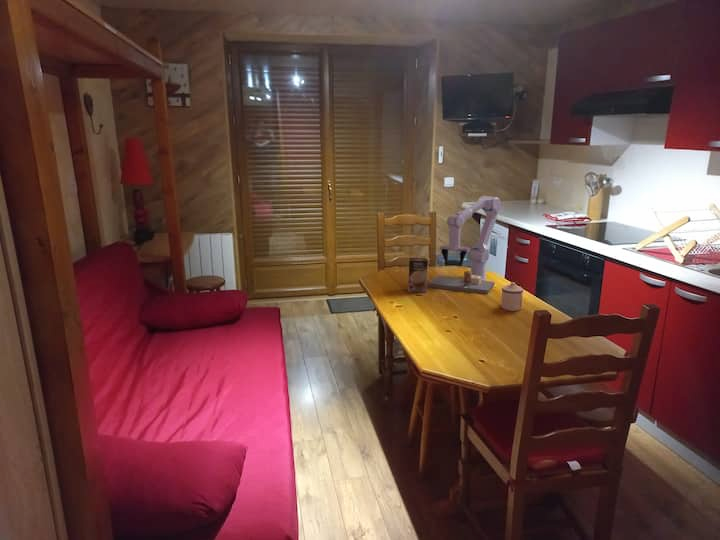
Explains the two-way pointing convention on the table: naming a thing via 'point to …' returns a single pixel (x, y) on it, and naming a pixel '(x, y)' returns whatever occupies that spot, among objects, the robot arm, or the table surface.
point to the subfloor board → (460, 285)
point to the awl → (467, 278)
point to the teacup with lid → (511, 297)
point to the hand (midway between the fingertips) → (453, 264)
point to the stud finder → (475, 279)
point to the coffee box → (417, 275)
